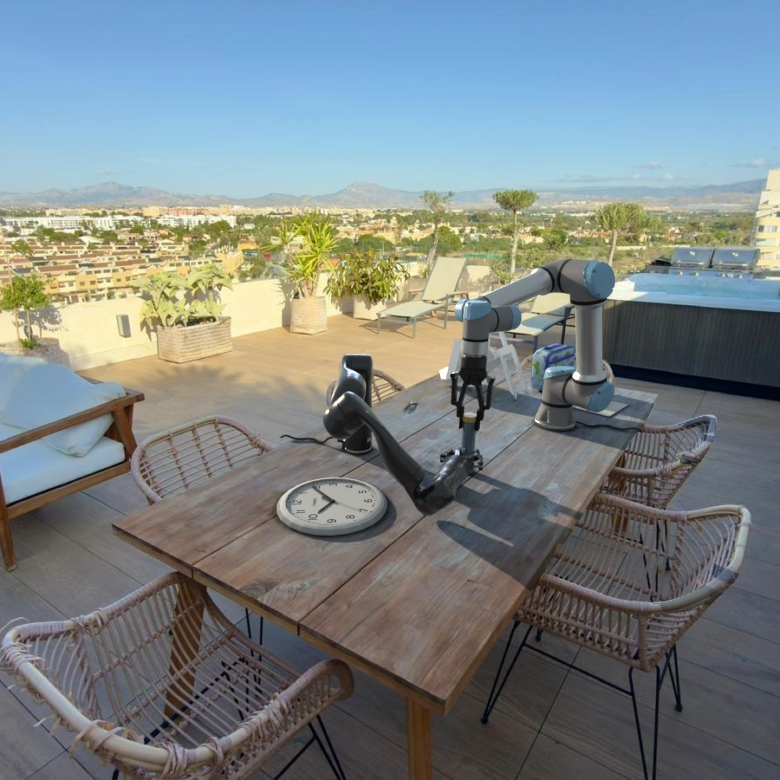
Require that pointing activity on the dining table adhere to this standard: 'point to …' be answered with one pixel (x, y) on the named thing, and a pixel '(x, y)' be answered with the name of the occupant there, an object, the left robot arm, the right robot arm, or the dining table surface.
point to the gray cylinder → (468, 439)
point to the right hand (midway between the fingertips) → (469, 428)
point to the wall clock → (331, 506)
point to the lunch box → (550, 361)
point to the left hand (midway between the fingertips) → (469, 450)
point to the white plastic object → (492, 363)
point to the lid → (469, 417)
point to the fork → (411, 403)
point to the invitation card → (608, 408)
